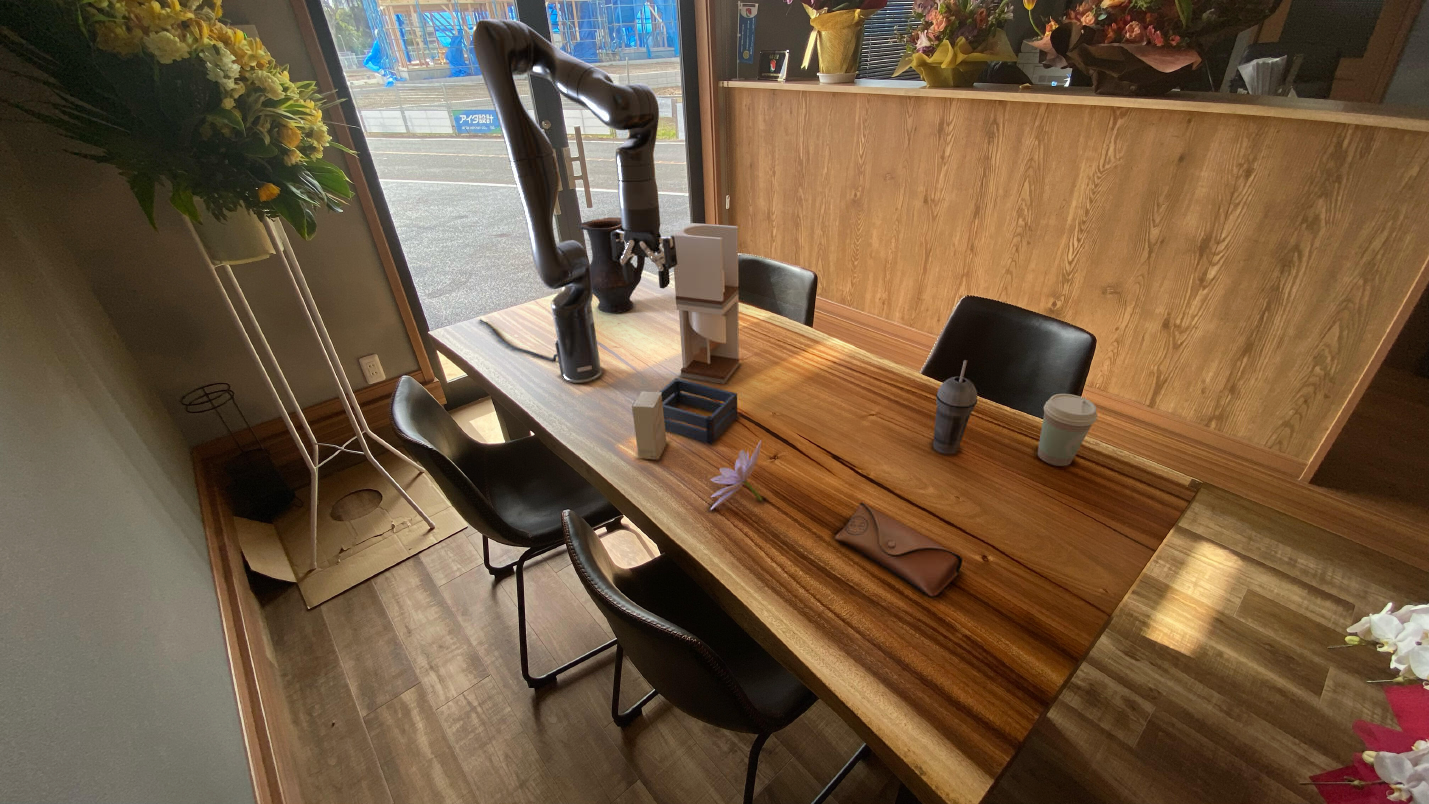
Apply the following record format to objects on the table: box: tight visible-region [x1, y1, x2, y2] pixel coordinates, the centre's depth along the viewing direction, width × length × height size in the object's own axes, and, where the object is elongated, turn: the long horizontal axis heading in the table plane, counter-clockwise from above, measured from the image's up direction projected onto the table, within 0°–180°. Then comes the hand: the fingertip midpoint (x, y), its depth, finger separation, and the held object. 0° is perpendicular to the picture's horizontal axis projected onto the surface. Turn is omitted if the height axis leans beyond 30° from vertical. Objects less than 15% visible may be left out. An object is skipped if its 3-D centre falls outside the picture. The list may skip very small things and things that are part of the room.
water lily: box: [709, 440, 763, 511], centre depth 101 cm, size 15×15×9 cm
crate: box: [658, 377, 738, 445], centre depth 123 cm, size 16×12×6 cm
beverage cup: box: [932, 359, 978, 455], centre depth 108 cm, size 7×7×20 cm
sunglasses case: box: [834, 502, 963, 598], centre depth 89 cm, size 18×7×7 cm
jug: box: [577, 216, 646, 314], centre depth 174 cm, size 21×18×30 cm
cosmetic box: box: [631, 390, 667, 460], centre depth 113 cm, size 6×4×12 cm
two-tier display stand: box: [671, 222, 740, 385], centre depth 135 cm, size 11×11×35 cm
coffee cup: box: [1037, 393, 1098, 467], centre depth 107 cm, size 8×9×12 cm
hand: (646, 284), depth 118 cm, fingers open, 8 cm apart
